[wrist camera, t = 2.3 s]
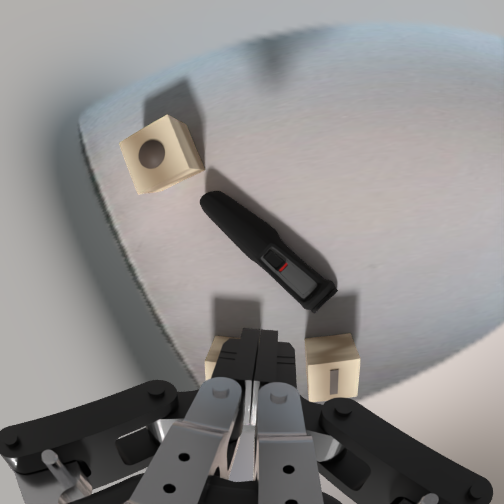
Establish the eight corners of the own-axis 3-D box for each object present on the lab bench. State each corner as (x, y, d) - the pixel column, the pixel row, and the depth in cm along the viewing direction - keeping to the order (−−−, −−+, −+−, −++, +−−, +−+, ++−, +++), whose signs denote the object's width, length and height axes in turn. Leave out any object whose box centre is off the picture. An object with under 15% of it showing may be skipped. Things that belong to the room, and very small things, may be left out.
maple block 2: (261, 339, 30) (257, 367, 25) (258, 374, 31) (254, 404, 26) (215, 335, 30) (204, 361, 26) (216, 370, 32) (206, 398, 27)
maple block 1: (186, 124, 25) (167, 114, 20) (205, 170, 26) (188, 167, 21) (144, 147, 26) (118, 142, 21) (161, 191, 27) (137, 194, 22)
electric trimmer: (223, 179, 27) (215, 179, 24) (339, 286, 28) (345, 298, 25) (198, 209, 28) (188, 212, 25) (313, 311, 29) (315, 326, 26)
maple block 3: (350, 332, 29) (360, 359, 24) (348, 368, 30) (357, 396, 25) (304, 338, 30) (307, 366, 25) (306, 373, 31) (309, 403, 26)
